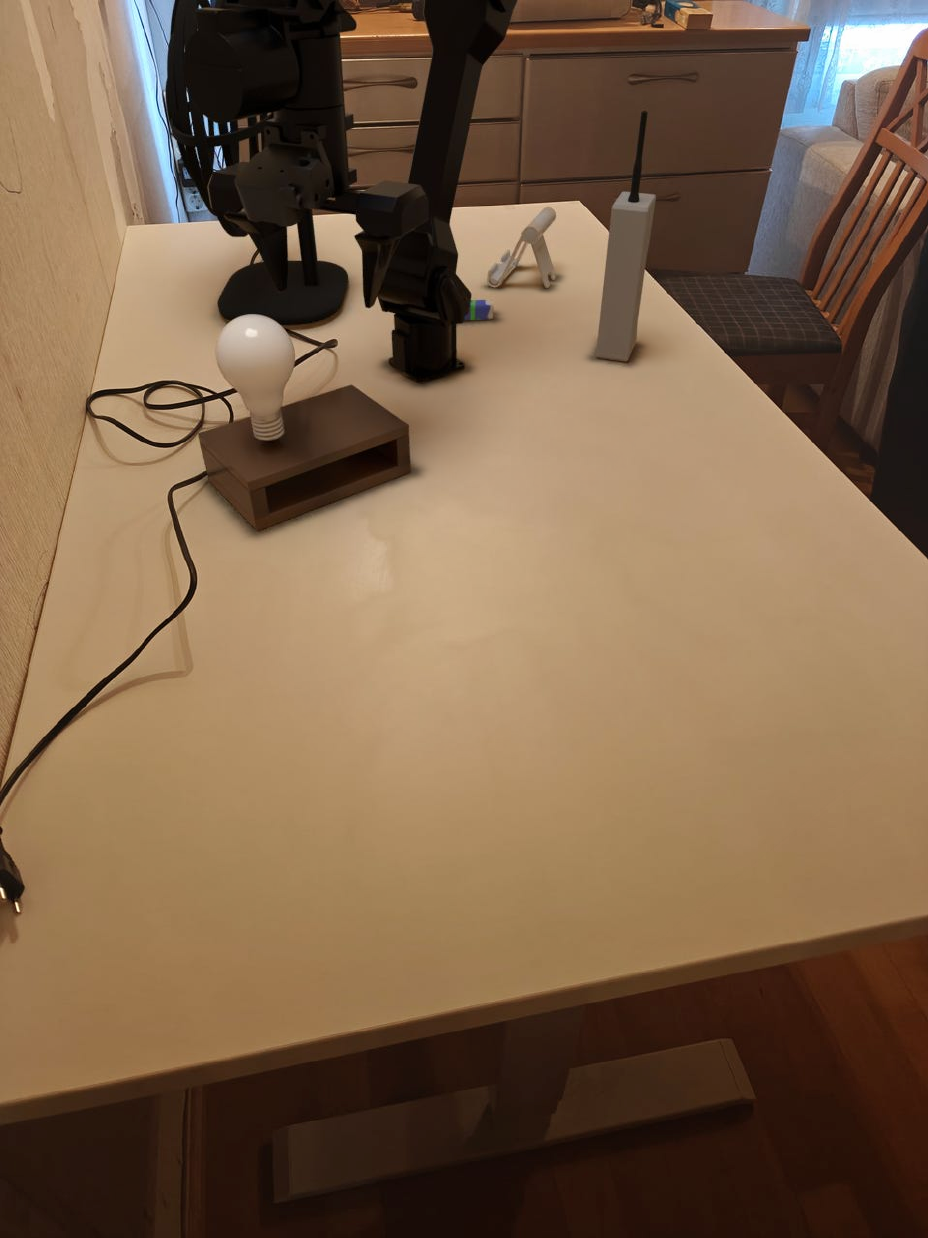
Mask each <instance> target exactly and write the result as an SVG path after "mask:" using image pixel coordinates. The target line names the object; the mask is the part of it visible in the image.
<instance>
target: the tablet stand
mask: <svg viewBox="0 0 928 1238" xmlns="http://www.w3.org/2000/svg"><path fill="white" fill-rule="evenodd" d="M556 218H557V212H556V210H555V209H554V208H553V207H552V206H545V207H544V208H543V209H542V210H540V211H539V213H538V214H537V215H535V217H534V218H533V219H532V220H531V221H530V222H529V224H527V226H526V227H525V228H524V229H522V231H521V233H520V237H519V239H518V241H517V243H516V244H515V247H514V249H513V251H512V253H511V250H510V249H507V250H506V251H505V252H504V253H503V254H502V255H501V256H500V261H499V263H497V262H495V263H494V264H493V265H492V266H491V267H490V268H489V269H488V270H487V277H486V281H487V284H488V285H489V286H490V287H491V288H498V287H500V286H501V285H502V284H503V283H504V281H505V280H506V278H507V277H508V276H509V275H510V274H511V273H512V272H513V270H515V269H516V268H517V267H518V265H519V263H520V261H521V259H522V257H523V255H524V253H525V251H526V249H527V247H528V244H529V245H530V246H531V249H532V252H533V255H534V258H535V261H536V264H537V268H538V271H539V273H540V277H541V279H542V283H543V285H544V288H545V289H548V288H549V287H550V286H551V283H550V280H549V276H548V275H550V278H551V281H555V280H556V278H557V274H556V271H555V267H554V264H553V262H552V259H551V255H550V252H549V249H548V246H547V243H546V242H547V241H546V239H545V236H544V234H545V232H546V231H547V230H548V229H549V228H550V227H551V226H552V224H553V223H554V222H556ZM523 242H524V243H523ZM522 243H523V245H522ZM521 246H522V247H521ZM520 248H521V249H520ZM519 249H520V251H519ZM518 251H519V252H518ZM517 254H518V255H517ZM516 256H517V257H516Z"/></svg>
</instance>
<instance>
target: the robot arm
mask: <svg viewBox="0 0 928 1238" xmlns="http://www.w3.org/2000/svg"><path fill="white" fill-rule="evenodd" d="M517 3H518V0H424V2H423V11H422V15H423V19H424V23H425V26H426V29H427V33H428V37H429V40H430V44H431V48H432V51H431V52H432V53H431V58H430V63H429V70H428V74H427V79H426V85H425V90H424V95H423V101H422V106H421V111H420V116H419V121H418V127H417V132H416V137H415V142H414V148H413V152H412V157H411V162H410V168H409V173H408V179H407V182H401V181H393V180H392V181H391V180H386V179H384V180H382V181H381V182H378V183H377V184H375V185H372V186H370V187H369V188H366V189H364V190H360V189H352V188H351V185H354V184H355V183H358V171H357V168H353V167H350V165H349V153H348V136H347V133H348V132H347V131H350V130H353V129H355V119H354V117H355V116H354V114H353V113H346V103H345V90H344V89H345V88H344V73H343V57H342V39H341V33H342V34H343V33H348V32H355V31H356V29H357V20H356V19H355V18H354V17H353V16H352V15H351V13H350V12H349V11H348V10H346V8H345V7H344V6H343V5H342V4H341V2H340V0H222V1H221V4H220V9H217V8H215V7H212V8H201V7H199V9H197V10H196V12H195V14H196V21H197V28H198V30H197V31H195V32H194V33H193V34H192V35H191V36H190V38H189V40H188V42H187V44H186V48H185V49H184V62H183V63H182V71H183V77H184V81H185V85H186V90H187V94H188V93H189V95H190V97H191V99H192V101H193V102H194V104H195V106H196V107H197V108H198V110H199V111H200V112H201V113H202V114H203V117H204V118H206V119H207V118H208V119H209V120H211V121H213V122H214V123H215V124H218V123H220V124H223V123H229V122H232V121H237V120H238V121H240V120H245V119H247V118H250V117H254V116H257V117H258V116H260V115H263V114H271V112H274V118H272V119H269V120H266V121H265V125H266V127H265V129H264V134H265V145H264V149H263V150H262V151H259V153H257V154H256V155H254V157H253V158H252V159H251V160H250V159H249V161H239V163H237V164H234V165H231V166H229V167H226V166H225V167H223V168H221V169H218V170H215V171H214V172H213V173H212V175H211V178H210V180H209V183H208V186H207V188H208V194H209V200H210V206H211V208H212V209H215V210H221V211H228V212H226V213H224V217H225V218H226V219H227V220H228V221H233V222H235V223H236V224H237V225H239V226H240V227H241V228H243V229H244V230H245V231H246V232H247V233H248V236H249V237H250V239H251V241H252V243H253V244H254V245H255V248H256V249H257V252H258V254H259V256H260V258H261V260H262V262H264V264H265V266H266V268H267V270H268V272H269V274H270V276H271V279H272V281H273V283H274V285H275V287H276V289H277V291H278V292H283V291H285V290H286V289H287V284H288V260H289V246H288V245H289V244H288V228H289V227H293V226H295V225H297V223H298V222H299V221H300V220H301V219H302V217H303V213H304V212H305V210H306V209H307V208H309V209H312V210H317V211H319V210H321V211H327V212H333V213H340V214H347V215H353V216H355V222H356V223H357V225H358V226H359V227H360V228H361V229H362V230H361V231H359V232H358V233H356V234H355V235H354V236H353V237H354V239H355V241H356V243H357V245H358V246H359V249H360V251H361V262H362V263H361V266H362V267H361V268H362V270H361V271H362V295H363V302H364V306H365V308H366V309H371V308H373V307H374V306H375V304H376V301H377V300H378V304H379V306H380V309H381V312H382V313H383V312H384V313H391V314H393V326H394V328H393V329H392V330H391V333H390V334H391V349H392V350H391V351H392V357H389V358H388V364H389V365H390V366H392V367H393V368H395V369H396V370H398V371H400V372H401V373H403V374H404V375H406V376H407V377H409V378H410V379H412V380H413V381H415V382H417V383H425V382H428V381H431V380H434V379H438V378H439V377H443V376H446V375H449V374H452V373H455V372H458V371H461V370H464V369H465V368H466V363H465V362H464V361H462V360H460V359H459V358H457V355H458V351H457V349H458V348H457V347H458V343H457V341H458V340H457V339H458V337H457V334H458V331H457V327H458V325H460V324H463V323H465V321H466V320H465V316H466V315H467V314H468V313H469V308H470V303H471V300H472V297H473V295H472V292H471V291H470V290H469V288H468V287H467V286H466V284H465V283H464V282H463V281H462V279H461V278H460V277H459V275H457V269H458V260H459V251H458V249H457V248H458V247H457V244H456V242H455V241H456V240H455V238H454V234H453V231H452V228H451V218H452V213H453V207H454V203H455V200H456V199H455V198H456V193H457V189H458V184H459V179H460V174H461V169H462V164H463V160H464V155H465V150H466V147H467V141H468V137H469V132H470V126H471V122H472V117H473V112H474V108H475V104H476V99H477V93H478V89H479V85H480V79H481V74H482V70H483V66H484V65H485V63H486V62H487V61H488V60H489V58H490V57H491V56H492V55H493V54H494V52H495V51H496V50H497V49H498V48H499V46H500V45H501V44H502V43H503V41H504V40H505V38H506V36H507V33H508V30H509V27H510V22H511V19H512V17H513V13H514V10H515V7H516V6H517Z"/></svg>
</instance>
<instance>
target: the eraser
mask: <svg viewBox="0 0 928 1238" xmlns="http://www.w3.org/2000/svg"><path fill="white" fill-rule="evenodd" d="M494 309H495V304H494V302H493V300H492V299H490V298H489V299H488V298H487V299H471V303H470V308H469V313H468V314H467V315H466V316H465V321H485V320H486V321H487V320H493V319H494V312H495V311H494Z"/></svg>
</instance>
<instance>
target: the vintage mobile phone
mask: <svg viewBox="0 0 928 1238" xmlns="http://www.w3.org/2000/svg"><path fill="white" fill-rule="evenodd" d="M648 113H649V112H648V111H647V110H642V111H641V112H640V120H639V129H638V137H637V146H636V154H635V160H634V164H633V168H632V176H631V186H630V191H621V193H620V194H619V196H618V197H617V198H616V200H615V201H614V203H613V204H612V206H611V212H610V220H609V221H610V222H609V230H608V239H607V248H606V249H607V250H606V259H605V267H604V277H603V286H602V296H601V305H600V314H599V315H600V316H599V322H598V330H597V341H596V349H595V356H596V358H598V359H603V360H611V361H616V362H617V361H618V362H623V363H626V362H628V361H629V359H630V357H631V355H632V352H633V350H634V348H635V346H636V344H637V339H638V323H639V317H640V308H641V301H642V294H643V286H644V279H645V272H646V264H647V257H648V252H649V247H650V241H651V234H652V229H653V228H652V227H653V222H654V221H653V220H654V214H655V207H656V200H657V196H656V194H653V193H643V192H640V186H641V178H642V169H643V161H642V160H643V153H644V146H645V145H644V143H645V137H646V129H647V122H648V121H647V120H648Z"/></svg>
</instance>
